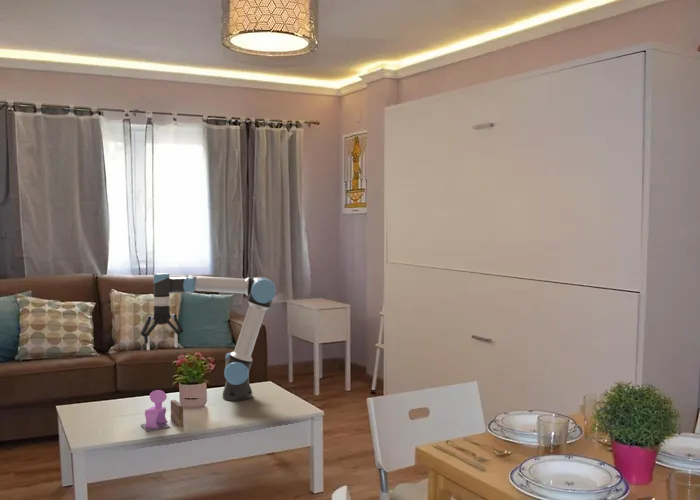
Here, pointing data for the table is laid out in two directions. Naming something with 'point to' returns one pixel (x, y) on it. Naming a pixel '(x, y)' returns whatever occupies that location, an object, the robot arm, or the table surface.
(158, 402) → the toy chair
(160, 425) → the coaster
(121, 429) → the table surface
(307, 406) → the table surface
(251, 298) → the robot arm
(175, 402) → the brown wooden slab
